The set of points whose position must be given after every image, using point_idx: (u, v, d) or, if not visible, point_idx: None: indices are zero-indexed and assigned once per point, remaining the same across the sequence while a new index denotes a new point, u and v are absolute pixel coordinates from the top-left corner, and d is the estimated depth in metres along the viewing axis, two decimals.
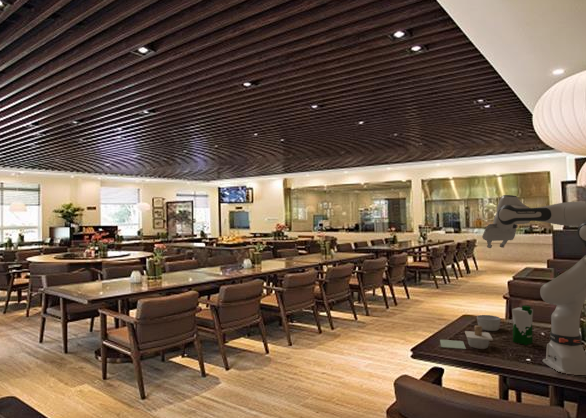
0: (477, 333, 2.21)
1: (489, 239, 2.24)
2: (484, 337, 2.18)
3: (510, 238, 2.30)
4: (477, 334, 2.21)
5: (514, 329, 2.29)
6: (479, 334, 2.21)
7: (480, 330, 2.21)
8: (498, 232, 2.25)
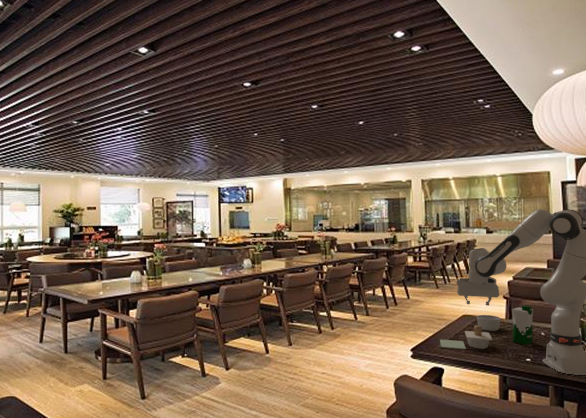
0: (477, 333, 2.21)
1: (461, 293, 2.24)
2: (484, 337, 2.18)
3: (493, 295, 2.19)
4: (477, 334, 2.21)
5: (514, 329, 2.29)
6: (479, 334, 2.21)
7: (480, 330, 2.21)
8: (472, 287, 2.22)
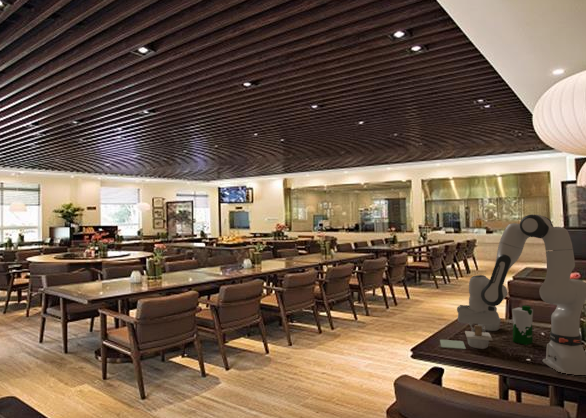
0: (477, 333, 2.21)
1: (461, 321, 2.23)
2: (484, 337, 2.18)
3: (493, 322, 2.19)
4: (477, 334, 2.21)
5: (514, 329, 2.29)
6: (479, 334, 2.21)
7: (480, 330, 2.21)
8: (472, 314, 2.22)
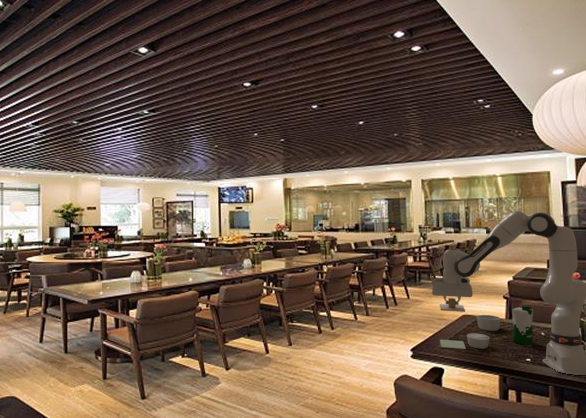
0: (451, 305, 2.24)
1: (435, 293, 2.26)
2: (457, 309, 2.21)
3: (466, 294, 2.22)
4: (451, 306, 2.24)
5: (514, 329, 2.29)
6: (452, 306, 2.24)
7: (453, 302, 2.24)
8: (446, 287, 2.25)
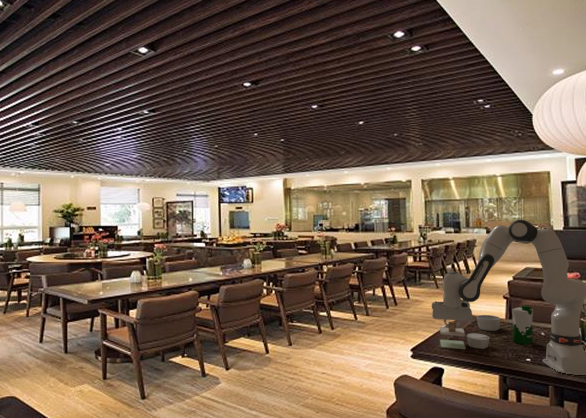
0: (451, 329, 2.24)
1: (435, 317, 2.26)
2: (457, 333, 2.21)
3: (466, 318, 2.22)
4: (451, 330, 2.24)
5: (514, 329, 2.29)
6: (452, 330, 2.24)
7: (454, 326, 2.24)
8: (446, 310, 2.25)
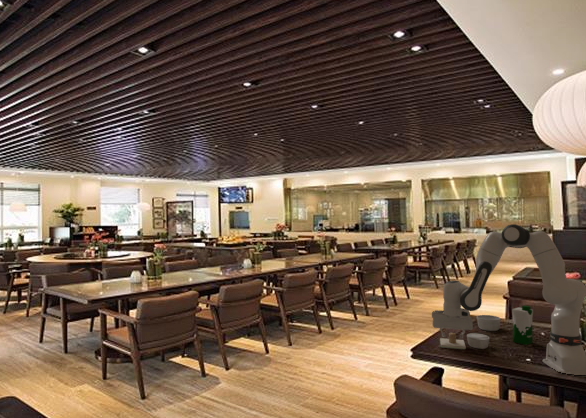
0: (451, 340, 2.24)
1: (436, 326, 2.26)
2: (457, 345, 2.21)
3: (467, 327, 2.22)
4: (451, 341, 2.24)
5: (514, 329, 2.29)
6: (453, 341, 2.24)
7: (454, 338, 2.24)
8: (447, 319, 2.25)
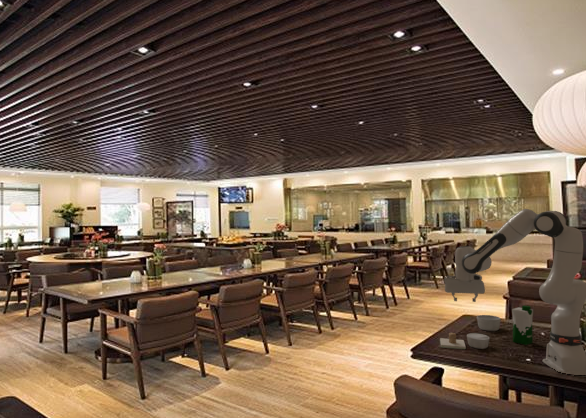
0: (451, 340, 2.24)
1: (448, 291, 2.29)
2: (457, 345, 2.21)
3: (479, 291, 2.25)
4: (451, 341, 2.24)
5: (514, 329, 2.29)
6: (453, 341, 2.24)
7: (454, 338, 2.24)
8: (459, 284, 2.28)
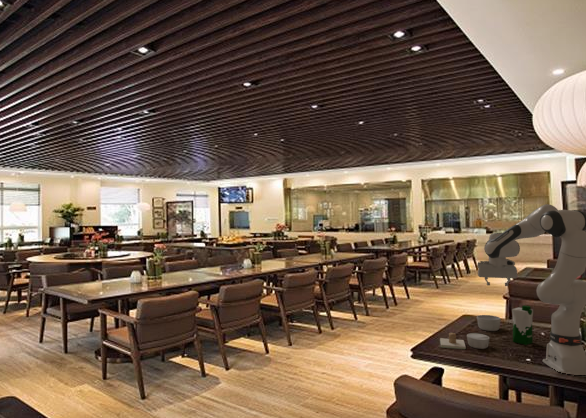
0: (451, 340, 2.24)
1: (481, 275, 2.39)
2: (457, 345, 2.21)
3: (512, 276, 2.35)
4: (451, 341, 2.24)
5: (514, 329, 2.29)
6: (453, 341, 2.24)
7: (454, 338, 2.24)
8: (492, 269, 2.38)
